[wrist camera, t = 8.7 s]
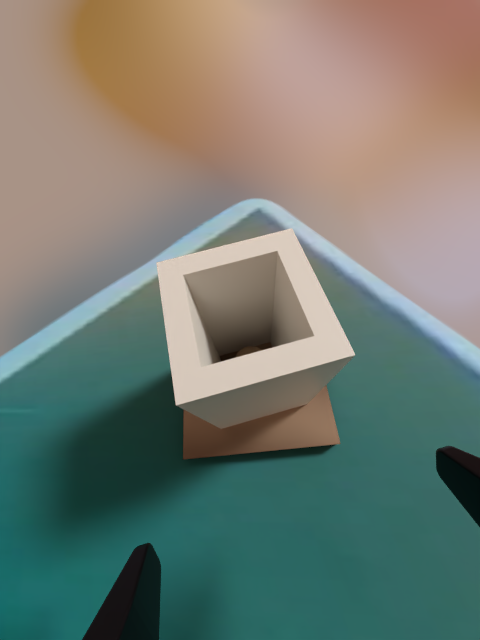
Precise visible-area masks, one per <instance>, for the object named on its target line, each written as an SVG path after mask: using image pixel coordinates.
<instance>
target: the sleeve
mask: <svg viewBox="0 0 480 640" xmlns="http://www.w3.org/2000/svg"><path fill="white" fill-rule="evenodd" d="M157 270H158V277H159V285H160V292H161V299H162V307H163V314H164V321H165V329H166V336H167V343H168V351H169V358H170V365H171V373H172V380H173V387H174V395H175V402H176V406H178V407H180V408H182V409H184V410H186V411H188V412H190V413H191V414H193V415H195V416H197V417H199V418H201V419H203V420H205V421H207V422H209V423H211V424H213V425H215V426H216V427H218V428H220V429H223V428H226V427H230V426H233V425H237V424H240V423H244V422H247V421H251V420H254V419H257V418H261V417H264V416H268V415H271V414H275V413H278V412H282V411H285V410H289V409H292V408H296V407H299V406H302V405H306V404H308V403H309V402H310V401H311V400H312V399H313V398H314V397H315V396H316V395H317V394H318V393H319V392H320V391H321V390H322V389H323V388H324V387H325V385H326V384H327V383H328V382H329V381H330V380H331V379H332V378H333V377H334V376H335V375H336V374H337V373H338V372H339V371H340V370H341V369H342V368H343V367H344V366H345V365H346V364H347V363H348V362H349V361H350V360H351V359H352V358H353V357H354V356H355V353H354V351H353V349H352V347H351V345H350V343H349V341H348V339H347V337H346V335H345V333H344V331H343V329H342V327H341V325H340V323H339V321H338V319H337V317H336V315H335V313H334V311H333V309H332V307H331V305H330V303H329V301H328V299H327V297H326V295H325V293H324V291H323V289H322V287H321V285H320V283H319V281H318V279H317V277H316V275H315V273H314V271H313V269H312V267H311V265H310V263H309V261H308V259H307V257H306V255H305V253H304V251H303V249H302V247H301V245H300V243H299V241H298V239H297V237H296V235H295V233H294V231H293V229H288V230H284V231H280V232H276V233H272V234H268V235H264V236H260V237H256V238H252V239H248V240H244V241H240V242H236V243H232V244H228V245H224V246H221V247H217V248H213V249H209V250H205V251H201V252H197V253H193V254H189V255H185V256H181V257H177V258H173V259H169V260H165V261H161V262H157ZM268 342H271V345H272V348H269V349H265V350H262V351H258V352H254V353H251V354H247V355H244V356H240V357H236V358H233V359H229V360H225V361H222V362H221V360H220V356H221V355H224V354H228V353H232V352H235V351H239V350H241V349H242V348H244V347H247V346H257V345H261V344H264V343H268Z"/></svg>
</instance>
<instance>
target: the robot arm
mask: <svg viewBox="0 0 480 640" xmlns="http://www.w3.org/2000/svg"><path fill="white" fill-rule="evenodd" d="M436 469H437V472H438V474H439V476H440V478H441V479H442V480H443V482H444V483H445V484H446V485H447V487H448V488H449V489H450V490H451V492H452V493H453V494H454V495H455V497H456V498H457V499H458V500H459V502H460V503H461V504H462V506H463V507H464V508H465V509H466V511H467V512H468V513H469V514H470V516H471V517H472V518H473V519H474V521H475V522H476V523H477V524H478V526H479V527H480V458H479V457H476V456H474V455H472V454H469V453H467V452H464V451H462V450H460V449H457V448H455V447H452V446H446V447H442V448H439V449H437V451H436ZM160 587H161V564H160V560H159V558H158V556H157V554H156V552H155V550H154V548H153V546H152V544H150V543H146V544H143V545H140V546H138V547H136V548H135V549H134V551H133V552H132V554H131V556H130V557H129V559H128V561H127V563H126V564H125V566H124V568H123V570H122V571H121V573H120V575H119V577H118V578H117V580H116V582H115V583H114V585H113V587H112V589H111V590H110V592H109V594H108V596H107V597H106V599H105V601H104V603H103V604H102V606H101V608H100V610H99V611H98V613H97V615H96V617H95V618H94V620H93V622H92V623H91V625H90V627H89V629H88V630H87V632H86V634H85V636H84V637H83V639H82V640H159V617H160Z"/></svg>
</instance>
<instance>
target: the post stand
mask: <svg viewBox="0 0 480 640" xmlns="http://www.w3.org/2000/svg"><path fill="white" fill-rule="evenodd" d="M269 348H272V345H271V342H268V343H264V344H261V345H257V346H247V347H244V348H242V349H241V350H239V351H235V352H232V353H228V354H224V355H221V356H220V360H221V362H222V361H225V360H229V359H233V358H236V357H240V356H244V355H247V354H251V353H254V352H258V351H262V350H265V349H269ZM334 444H340V440H339V436H338V432H337V427H336V423H335V419H334V415H333V411H332V407H331V403H330V399H329V394H328V390H327V386H326V385H325V387H324V388H323V389H322V390H321V391H320V392H319V393H318V394H317V395H316V396H315V397H314V398H313V399H312V400H311V401H310V402H309V403H308V404H306V405H302V406H299V407H296V408H292V409H289V410H285V411H282V412H278V413H275V414H271V415H268V416H264V417H261V418H257V419H254V420H251V421H247V422H244V423H240V424H237V425H233V426H230V427H226V428H223V429H220V428H218V427H216V426H215V425H213V424H211V423H209V422H207V421H205V420H203V419H201V418H199V417H197V416H195V415H193V414H191V413H190V412H188V411H186V410H184V425H183V459H193V458H203V457H213V456H223V455H233V454H243V453H253V452H264V451H274V450H284V449H294V448H304V447H314V446H324V445H334Z"/></svg>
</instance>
